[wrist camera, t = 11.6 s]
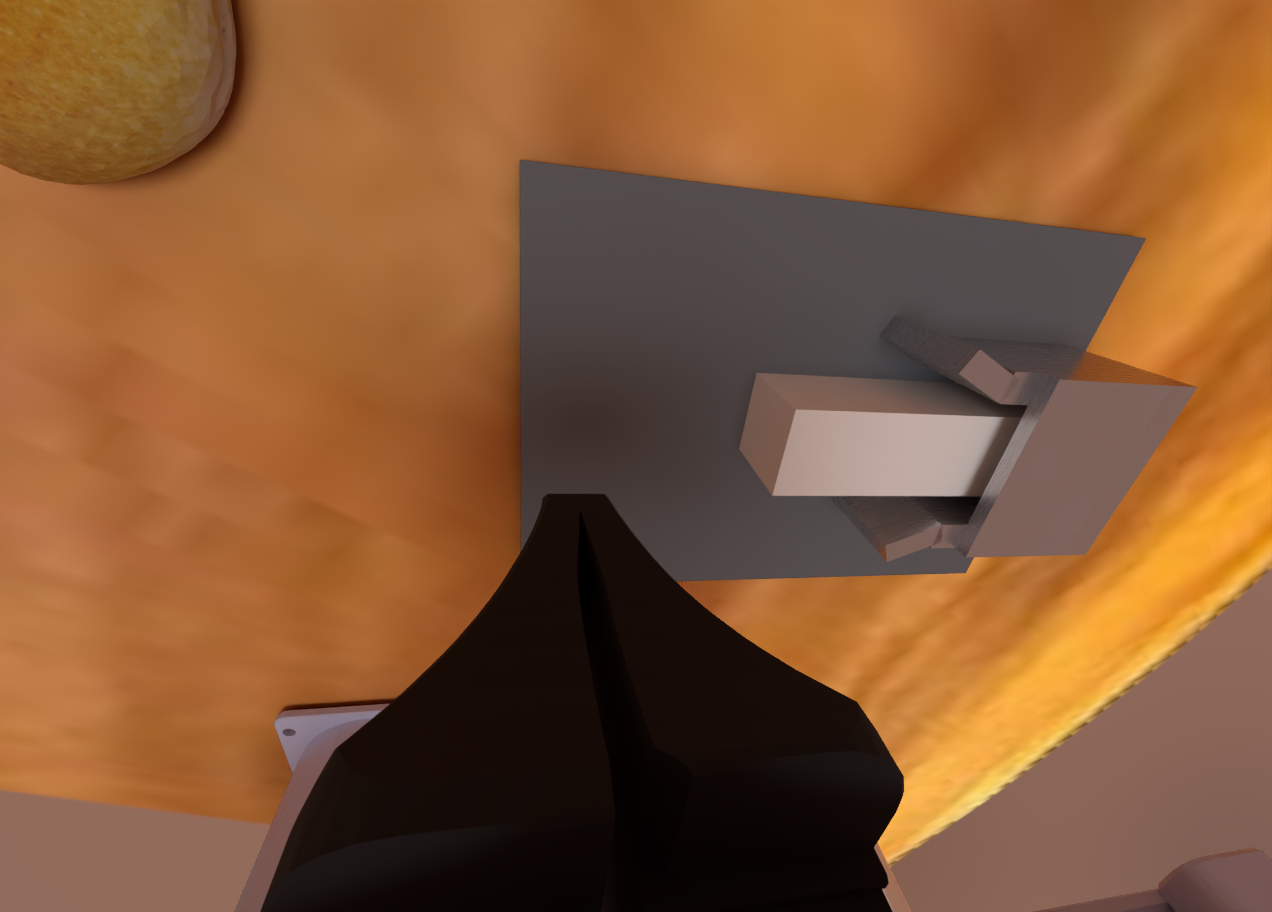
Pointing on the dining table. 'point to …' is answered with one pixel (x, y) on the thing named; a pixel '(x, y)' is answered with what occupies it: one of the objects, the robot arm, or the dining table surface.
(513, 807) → the robot arm
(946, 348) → the end cap
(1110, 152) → the dining table surface
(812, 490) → the pale grey rectangular bar
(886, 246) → the mat
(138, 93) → the bread roll
